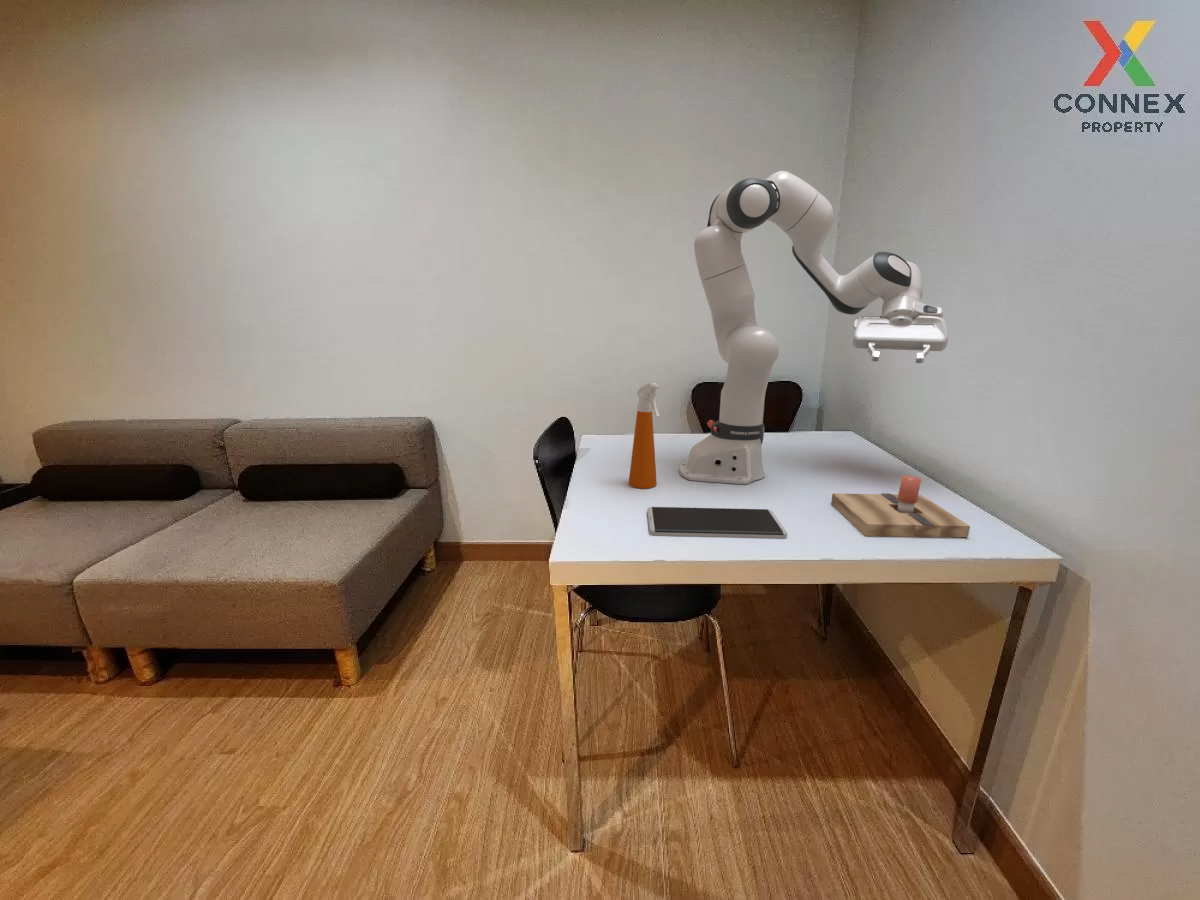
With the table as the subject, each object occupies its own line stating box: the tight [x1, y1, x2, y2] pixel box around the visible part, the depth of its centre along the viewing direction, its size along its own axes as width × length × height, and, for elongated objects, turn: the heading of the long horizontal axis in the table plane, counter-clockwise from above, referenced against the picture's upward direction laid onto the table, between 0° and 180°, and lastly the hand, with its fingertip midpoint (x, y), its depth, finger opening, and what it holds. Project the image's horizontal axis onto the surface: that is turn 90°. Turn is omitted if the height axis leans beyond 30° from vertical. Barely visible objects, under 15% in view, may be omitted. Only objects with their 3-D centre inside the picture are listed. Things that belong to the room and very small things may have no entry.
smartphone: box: [646, 506, 788, 540], centre depth 115 cm, size 13×27×2 cm, turn 88°
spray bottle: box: [628, 382, 660, 490], centre depth 134 cm, size 7×11×26 cm, turn 22°
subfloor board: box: [830, 492, 971, 538], centre depth 117 cm, size 20×18×3 cm
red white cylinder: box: [897, 474, 922, 513], centre depth 116 cm, size 4×4×9 cm
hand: (897, 360), depth 131 cm, fingers open, 8 cm apart
